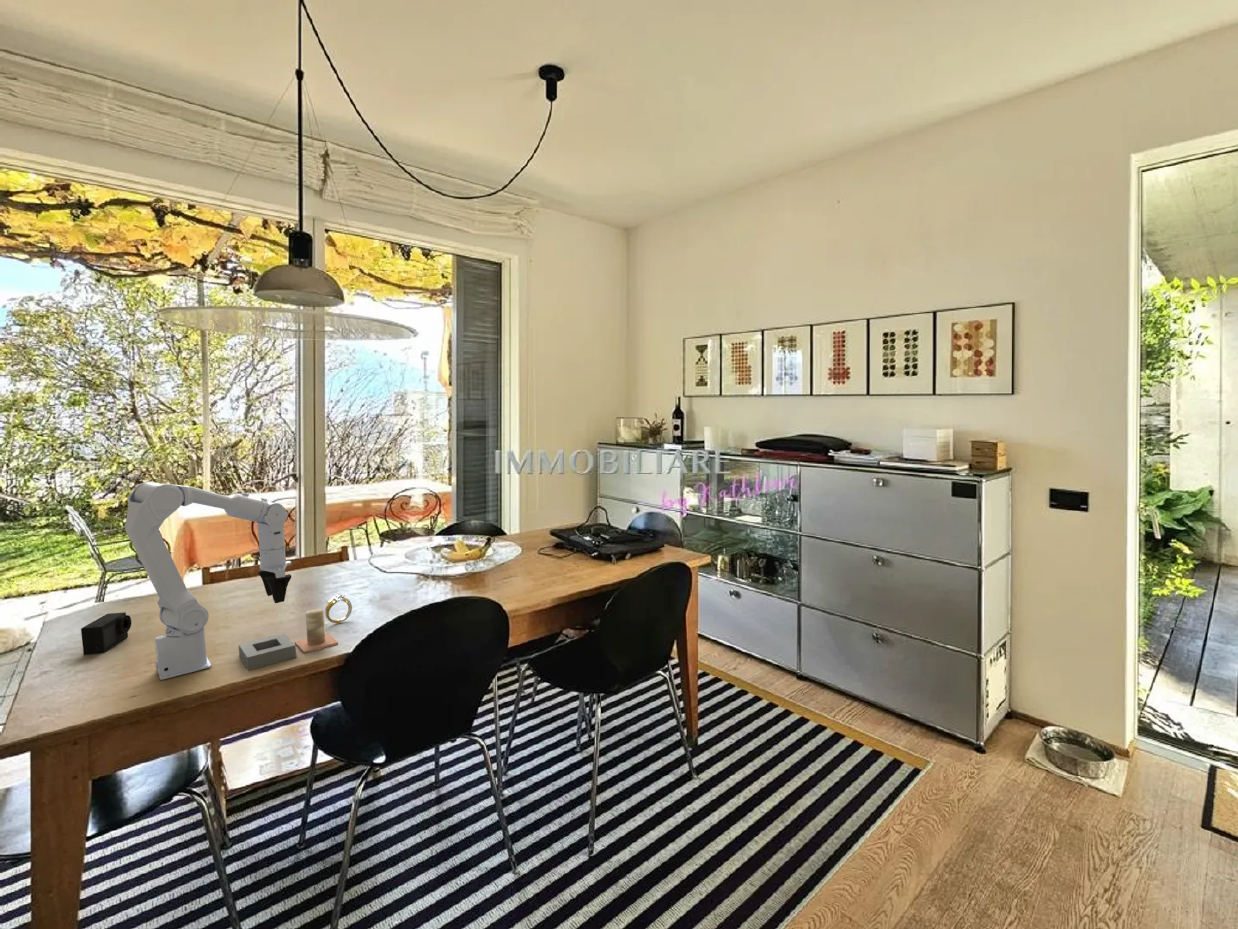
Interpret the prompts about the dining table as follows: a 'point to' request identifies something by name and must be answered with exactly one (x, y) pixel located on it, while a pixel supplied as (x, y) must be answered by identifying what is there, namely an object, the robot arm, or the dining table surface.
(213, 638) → the dining table surface
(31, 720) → the dining table surface
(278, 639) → the pocket block
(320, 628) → the peg
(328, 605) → the ring
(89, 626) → the digital camera
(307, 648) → the pad
